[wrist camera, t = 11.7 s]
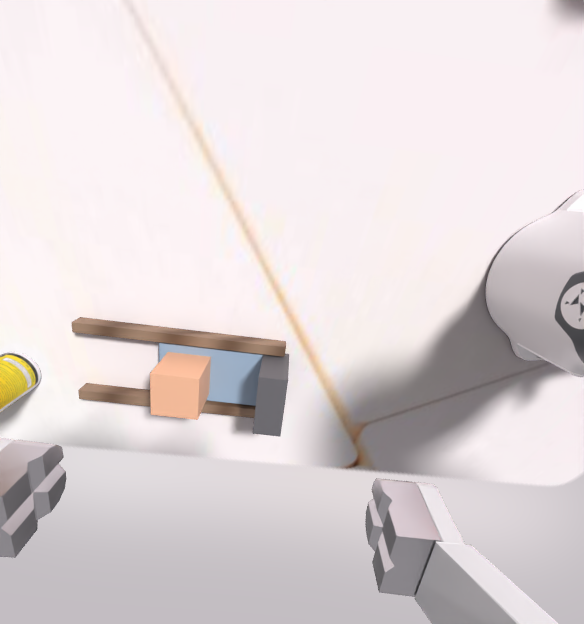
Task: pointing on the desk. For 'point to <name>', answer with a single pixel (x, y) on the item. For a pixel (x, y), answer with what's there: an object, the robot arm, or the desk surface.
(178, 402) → the terracotta cube
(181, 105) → the desk surface
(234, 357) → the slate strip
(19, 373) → the supplement bottle
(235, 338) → the guide rails
